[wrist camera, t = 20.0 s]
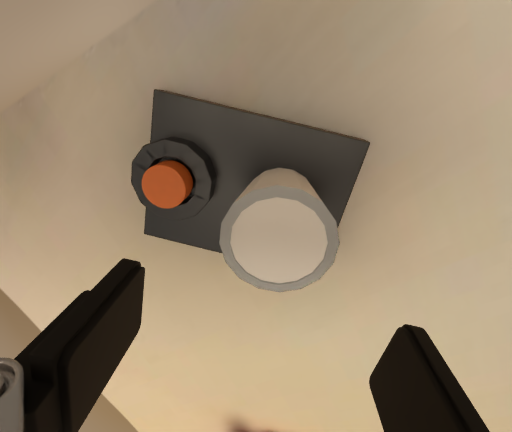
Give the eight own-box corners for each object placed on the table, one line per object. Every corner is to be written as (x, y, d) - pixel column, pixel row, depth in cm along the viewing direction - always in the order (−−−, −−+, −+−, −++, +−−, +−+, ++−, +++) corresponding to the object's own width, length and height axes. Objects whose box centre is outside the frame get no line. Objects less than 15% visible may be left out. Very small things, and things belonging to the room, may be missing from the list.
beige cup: (259, 251, 24) (250, 306, 18) (222, 181, 22) (196, 214, 15) (336, 223, 22) (356, 272, 16) (304, 144, 20) (313, 164, 14)
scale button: (150, 195, 22) (140, 202, 20) (153, 155, 20) (142, 159, 19) (190, 205, 22) (182, 213, 20) (195, 165, 20) (188, 171, 19)
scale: (145, 226, 26) (128, 241, 23) (154, 88, 21) (134, 86, 18) (317, 268, 26) (320, 288, 23) (365, 140, 21) (377, 145, 18)
